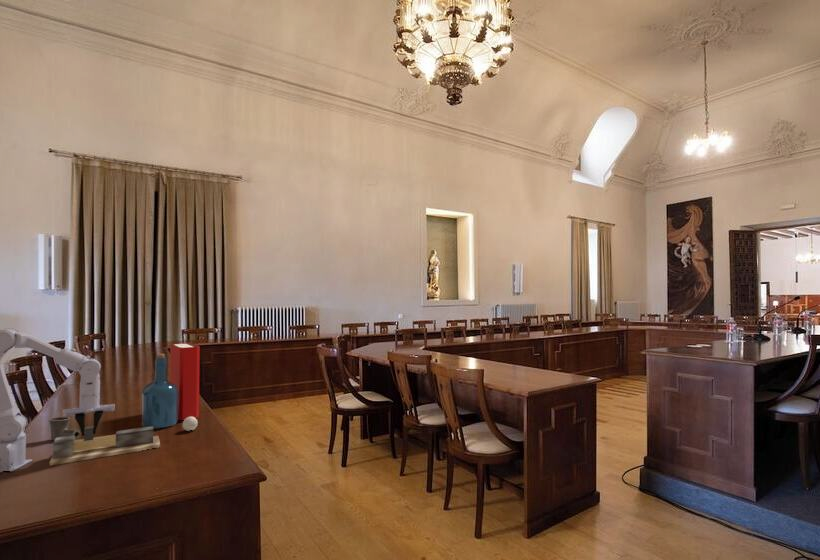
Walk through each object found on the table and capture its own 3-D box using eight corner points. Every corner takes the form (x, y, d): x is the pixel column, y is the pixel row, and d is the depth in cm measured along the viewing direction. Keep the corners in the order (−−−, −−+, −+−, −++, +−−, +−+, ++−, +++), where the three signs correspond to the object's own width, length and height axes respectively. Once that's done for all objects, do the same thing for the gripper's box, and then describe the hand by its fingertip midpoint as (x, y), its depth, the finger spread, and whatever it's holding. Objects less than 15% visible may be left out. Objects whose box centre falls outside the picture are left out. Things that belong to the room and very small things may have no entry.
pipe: (69, 443, 164) (70, 421, 164) (43, 441, 167) (43, 419, 167) (85, 438, 170) (85, 417, 170) (59, 436, 173) (60, 415, 173)
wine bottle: (169, 419, 196) (170, 351, 197) (183, 424, 187) (184, 353, 189) (135, 426, 185) (136, 354, 186) (148, 432, 177) (149, 357, 178)
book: (169, 409, 214) (170, 342, 215) (187, 406, 219) (188, 341, 220) (179, 421, 192) (180, 347, 193) (199, 418, 197) (200, 346, 198)
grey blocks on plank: (49, 465, 142) (50, 445, 142) (55, 454, 152) (55, 435, 153) (160, 447, 159) (160, 429, 159) (158, 438, 169) (158, 421, 169)
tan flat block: (62, 453, 147) (62, 432, 148) (63, 450, 150) (64, 429, 150) (131, 442, 158) (131, 422, 158) (131, 440, 160) (131, 421, 161)
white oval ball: (180, 433, 175) (180, 419, 176) (184, 429, 181) (184, 415, 181) (201, 431, 178) (201, 417, 178) (204, 427, 183) (204, 414, 183)
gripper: (61, 399, 146) (60, 441, 145) (114, 394, 154) (113, 433, 153) (64, 395, 152) (63, 435, 151) (115, 390, 160) (114, 428, 159)
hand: (88, 434), depth 153 cm, fingers closed on tan flat block, 2 cm apart
